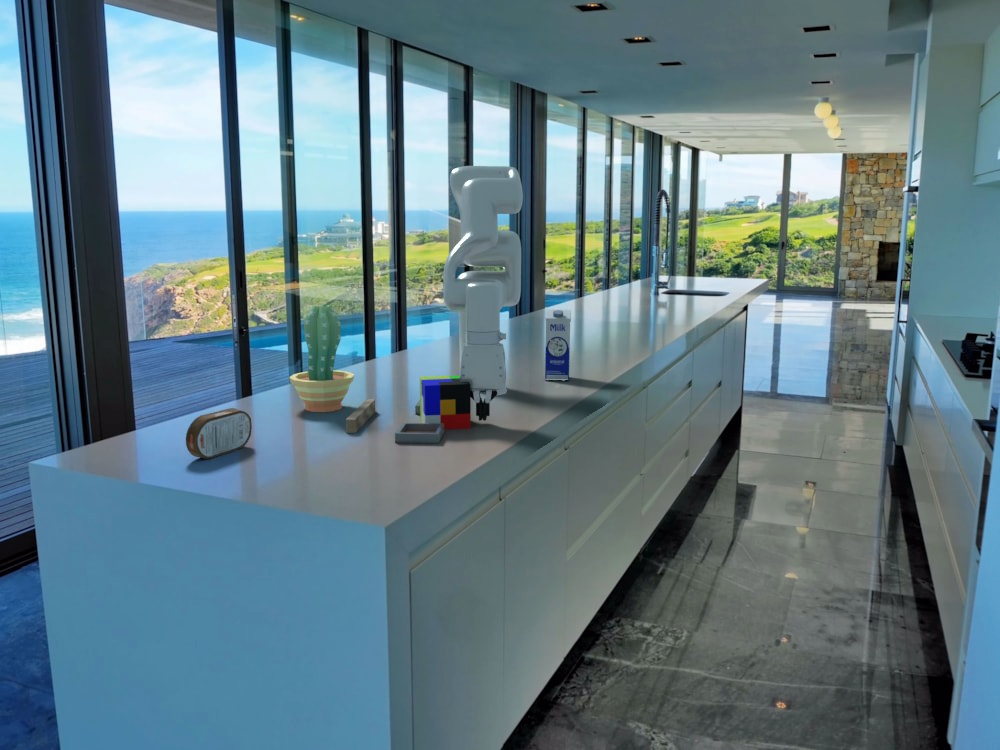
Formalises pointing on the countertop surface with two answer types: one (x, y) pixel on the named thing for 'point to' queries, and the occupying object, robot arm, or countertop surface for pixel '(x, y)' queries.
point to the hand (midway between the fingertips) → (482, 419)
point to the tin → (218, 433)
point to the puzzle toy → (445, 401)
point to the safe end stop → (360, 416)
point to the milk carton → (557, 344)
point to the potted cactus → (322, 363)
